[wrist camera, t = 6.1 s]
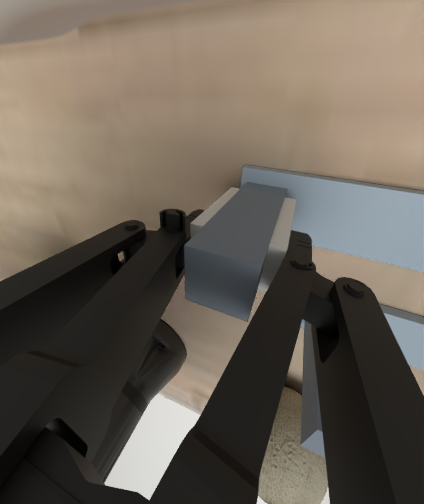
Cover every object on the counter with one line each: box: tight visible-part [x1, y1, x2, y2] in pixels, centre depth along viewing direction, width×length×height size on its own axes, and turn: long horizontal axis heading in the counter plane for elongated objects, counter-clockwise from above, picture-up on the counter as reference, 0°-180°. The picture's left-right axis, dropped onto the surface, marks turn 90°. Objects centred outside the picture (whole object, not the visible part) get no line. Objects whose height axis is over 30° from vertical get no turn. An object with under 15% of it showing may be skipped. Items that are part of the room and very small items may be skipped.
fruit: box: [258, 386, 328, 504], centre depth 25 cm, size 10×12×15 cm
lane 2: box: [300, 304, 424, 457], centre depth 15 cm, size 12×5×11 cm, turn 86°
